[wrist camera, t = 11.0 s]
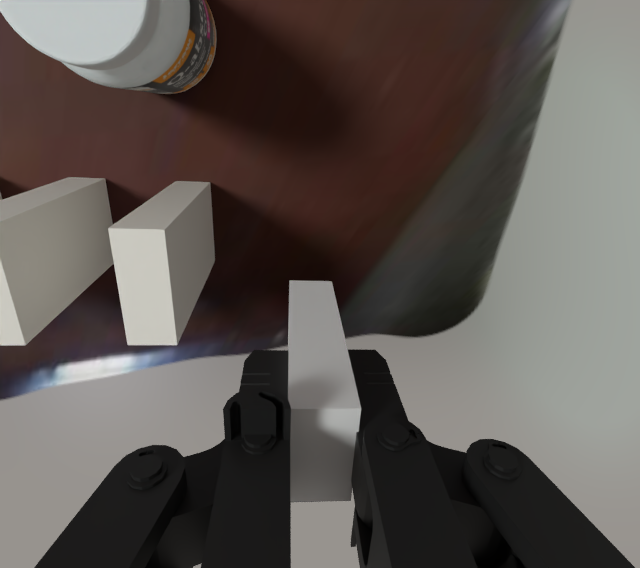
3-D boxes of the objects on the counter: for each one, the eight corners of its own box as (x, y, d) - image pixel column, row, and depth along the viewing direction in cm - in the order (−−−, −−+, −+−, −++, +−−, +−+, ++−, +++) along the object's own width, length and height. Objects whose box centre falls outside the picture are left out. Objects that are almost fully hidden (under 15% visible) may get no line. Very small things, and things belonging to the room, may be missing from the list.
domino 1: (85, 258, 25) (-28, 345, 16) (69, 177, 23) (-71, 224, 14) (118, 259, 25) (25, 345, 16) (105, 178, 23) (-10, 225, 14)
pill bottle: (216, 101, 22) (169, 99, 13) (107, 85, 21) (-23, 70, 12) (221, -23, 20) (167, -129, 11) (99, -46, 19) (-66, -181, 10)
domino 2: (183, 260, 26) (127, 345, 17) (175, 180, 24) (107, 228, 15) (215, 260, 26) (177, 344, 17) (210, 182, 24) (164, 229, 15)
